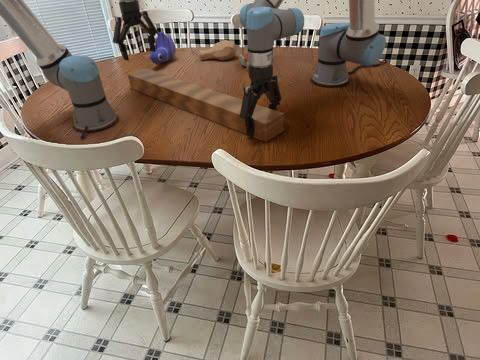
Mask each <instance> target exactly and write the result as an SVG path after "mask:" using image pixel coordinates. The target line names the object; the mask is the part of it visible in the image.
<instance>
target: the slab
mask: <svg viewBox="0 0 480 360" xmlns="http://www.w3.org/2000/svg"><path fill="white" fill-rule="evenodd" d="M127 77H128V81H129V87H130V90H134V91H135V92H139V93H141V94H144V95H146V96H148V97H150V98H151V97H152V98H153V99H155V100H159V101H160V102H164V103H166V104H169V105H171V106H174V107H177V108H179V109H182V110H184V111H186V112H189V113H191V114H194V115H196V116H199V117H202V118H204V119H207V120H209V121H212V122H214V123H217V124H219V125H222V126H224V127H227V128H229V129H232V130H234V131H237V132H240V133H242V134H244V135H246V127H245V119H242V118H240V111H241V106H242V101H243V99H241V98H238V97H236V96H232V95H229V94H226V93H223V92H220V91H216V90H213V89H210V88H207V87H204V86H202V85H198V84H195V83H192V82H188V81H185V80H183V79H180V78H176V77H174V76H170V75H167V74H164V73H161V72H158V71H155V70H152V69H149V68H146V67H144V68H142V69H139V70H136V71H132V72H130V73H128V74H127ZM248 115H249V114H248ZM252 118H254V137H253V138H255V139H256V140H257V139H258V140H260V141H262V142H265V143H267V142H269V141H271V140H272V139H274V138H275V137H276V136H279V135H280V134H281V133H283V132H284V131H285V130H284V129H285V128H284V127H285V113H284V112H281V111H278V110H277V111H275V110H272V109H269V107H266V106H262V105H260V104H258V103H257V104H256V107H255V110H254V112H253V115H252Z"/></svg>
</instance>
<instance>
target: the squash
mask: <svg viewBox="0 0 480 360" xmlns="http://www.w3.org/2000/svg"><path fill="white" fill-rule="evenodd" d="M237 50H238V48H237V45H236V43H235V41H233V40H227V39H224V40H221V41H219V42H216V43H214V44H213V46H212V47H210V48H209V49H204V50H203V49H202V50H199V51H198V52H199V59H200V60H201V61H204V60H209V59H216V60H218V61H229V60H231V59H233V57H235V56H236V55H237Z"/></svg>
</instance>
